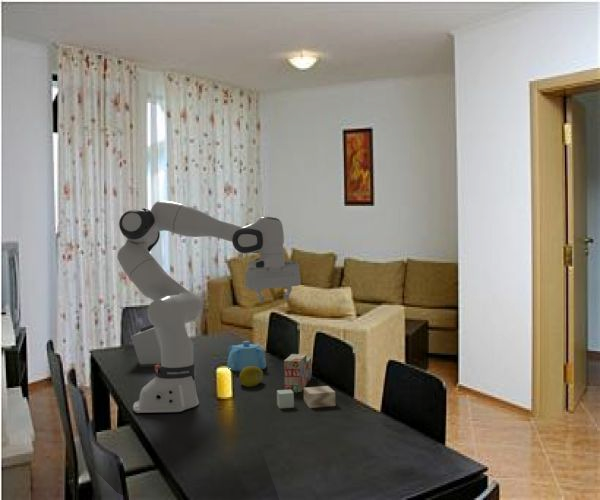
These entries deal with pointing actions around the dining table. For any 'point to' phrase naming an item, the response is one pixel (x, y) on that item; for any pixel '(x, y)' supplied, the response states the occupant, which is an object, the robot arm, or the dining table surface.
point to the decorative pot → (246, 356)
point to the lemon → (250, 376)
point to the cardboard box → (297, 372)
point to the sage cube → (285, 398)
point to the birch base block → (319, 396)
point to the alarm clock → (147, 346)
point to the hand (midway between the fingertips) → (274, 300)
